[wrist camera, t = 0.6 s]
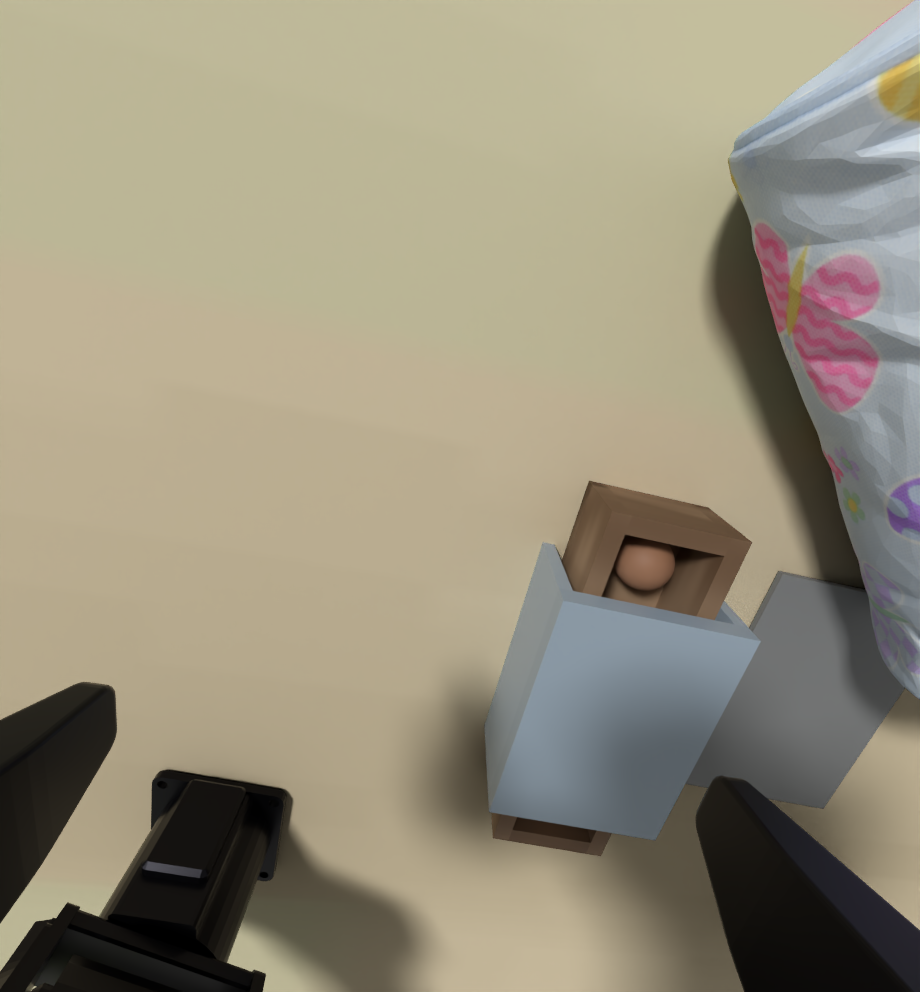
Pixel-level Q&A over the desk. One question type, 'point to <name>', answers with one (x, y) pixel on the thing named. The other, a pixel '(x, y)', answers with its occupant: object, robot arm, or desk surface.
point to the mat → (803, 695)
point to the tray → (638, 590)
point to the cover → (606, 705)
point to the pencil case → (853, 297)
